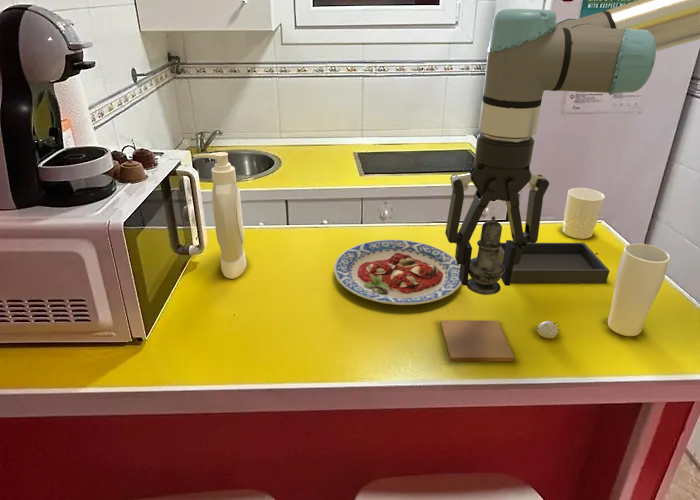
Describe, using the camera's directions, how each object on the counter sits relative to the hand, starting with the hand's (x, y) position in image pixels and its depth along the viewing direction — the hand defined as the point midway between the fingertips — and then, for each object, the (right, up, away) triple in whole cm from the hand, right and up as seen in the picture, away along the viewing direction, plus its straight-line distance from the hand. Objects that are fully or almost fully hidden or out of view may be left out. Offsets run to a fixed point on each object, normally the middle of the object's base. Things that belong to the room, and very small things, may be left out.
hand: (484, 280), depth 81 cm
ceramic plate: (-11, -1, +24) cm, 27 cm away
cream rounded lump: (+13, -10, +8) cm, 18 cm away
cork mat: (0, -11, +6) cm, 12 cm away
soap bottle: (-46, +1, +27) cm, 54 cm away
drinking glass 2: (+27, -9, +9) cm, 30 cm away
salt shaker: (0, -1, +1) cm, 1 cm away
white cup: (+33, +9, +43) cm, 55 cm away
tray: (+21, +1, +28) cm, 35 cm away
